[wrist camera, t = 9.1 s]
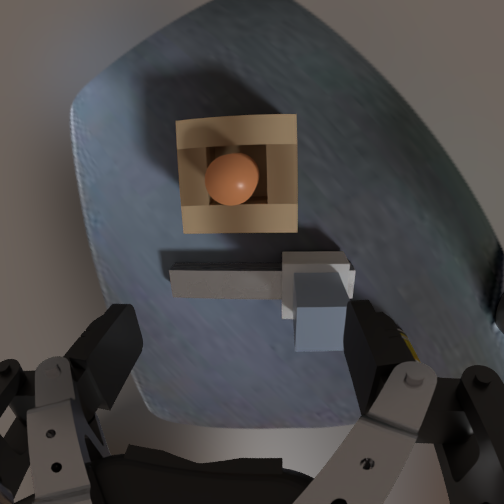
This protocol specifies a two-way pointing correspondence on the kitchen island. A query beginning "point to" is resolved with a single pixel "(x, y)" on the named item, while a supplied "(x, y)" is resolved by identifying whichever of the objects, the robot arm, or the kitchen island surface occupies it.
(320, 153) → the kitchen island surface
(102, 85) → the kitchen island surface
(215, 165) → the brown egg
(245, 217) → the open wooden box
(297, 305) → the carriage
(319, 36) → the kitchen island surface
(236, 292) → the rail
